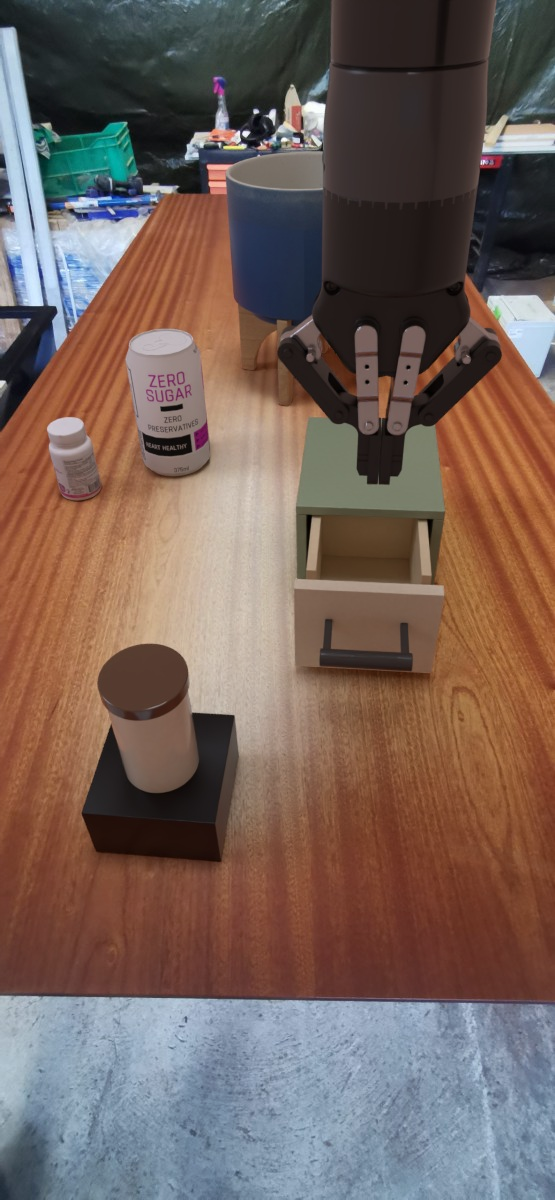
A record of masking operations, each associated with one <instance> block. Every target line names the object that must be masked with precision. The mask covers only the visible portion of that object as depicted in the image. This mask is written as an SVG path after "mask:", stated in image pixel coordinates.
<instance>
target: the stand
mask: <svg viewBox="0 0 555 1200" xmlns="http://www.w3.org/2000/svg"><path fill="white" fill-rule="evenodd" d="M192 716H193V722H194V728H195V734H196V740H197V746H198V752H199V763H198V767H197V769H196V771H195V773H194V775H193V776H192V777H191V778H190V780H189V781H187V782H186V783H185V784H184V785H182V786H181V787H179V788H177V789H175V790H172V791H169V792H164V793H150V792H146V791H143V790H140V789H139V788H137V787H135V786H134V785H133V784H132V783H131V782H130V781H129V779H128V778H127V775H126V773H125V769H124V766H123V762H122V759H121V755H120V752H119V748H118V745H117V741H116V738H115V734H114V731H113V727H112V724H111V723H110V726H109V729H108V732H107V734H106V738H105V741H104V744H103V747H102V749H101V752H100V755H99V759H98V761H97V765H96V767H95V771H94V774H93V776H92V780H91V783H90V785H89V789H88V791H87V795H86V798H85V801H84V803H83V807H82V809H81V813H80V814H81V816H82V820H83V822H84V824H85V827H86V831H87V832H88V836H89V837H90V840H91V843H92V846H93V848H94V851H95V852H98V853H108V854H123V855H133V856H134V855H135V856H147V857H160V858H172V859H182V860H183V859H185V860H197V861H209V862H222V859H223V852H224V847H225V840H226V836H227V835H226V834H227V828H228V824H229V823H228V822H229V817H230V811H231V805H232V799H233V792H234V786H235V781H236V780H235V779H236V774H237V768H238V764H239V763H238V762H239V756H240V755H239V744H238V734H237V725H236V716H235V714H227V713H212V712H211V713H209V712H193V711H192Z"/></svg>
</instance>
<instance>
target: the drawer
mask: <svg viewBox="0 0 555 1200" xmlns="http://www.w3.org/2000/svg"><path fill="white" fill-rule="evenodd" d="M431 577H432V572H431V561H430V549H429V537H428V525H427V519H419V518H392V517H364V516H337V515H312V522H311V532H310V541H309V550H308V559H307V568H306V579H297V578H294V583H293V626H294V627H293V629H294V631H293V633H294V635H293V637H294V666H295V667H310V668H329V669H330V668H332V669H347V670H348V669H349V670H365V671H367V670H368V671H381V672H383V671H384V672H385V671H386V672H403V673H417V674H419V673H421V674H432V671H433V666H434V660H435V654H436V648H437V644H438V637H439V631H440V626H441V621H442V620H441V619H442V613H443V607H444V601H445V587H444V585H443V584H442V585H440V584H434V585H430V584H431Z"/></svg>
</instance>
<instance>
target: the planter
mask: <svg viewBox="0 0 555 1200" xmlns="http://www.w3.org/2000/svg"><path fill="white" fill-rule="evenodd" d="M322 154H323V151H319V150H317V151H313V150H312V151H289V152H278V153H271V154H270V153H269V154H263V155H259V156H254V157H250V158H246V159H243V160H240V161H238V162H236V163H233V164H232V165H230V166H228V167H227V168H226V171H225V188H226V200H227V201H226V203H227V219H228V235H229V248H230V264H231V278H232V291H233V292H232V295H233V298H234V300H235V303H237V311H238V312H237V313H238V327H239V328H238V329H239V342H240V360H241V369H242V370H249V371H254V370H256V368H257V367H258V357H259V352H260V349H261V347H262V345H263V342H265V340H266V338H268V337H269V336H270V335H271V334H273V333H274V332H276V342H277V343H276V344H277V347H276V348H278V347H279V342H280V338H281V334H282V331H283V329H284V328H286V327H287V326H295V327H297V326H298V325H299V324H300V323H302V322H303V321H304V320H306V319H307V318H308V317H309V316H311V315H312V311H313V305H314V300H315V298H316V296H317V294H318V292H319V291H320V288H321V285H322V225H323V162H322ZM319 338H320V340H321V342H322V354H326V353H327V352H328V350H329V348H330V345H329V344H328V343H327V341H326V340H325V339H324V337H323V336H322V334H320V336H319ZM277 375H278V377H277V380H278V405H280V406H285V407H289V406H290V404H291V403H292V401H293V399H294V398H293V397H294V394H293V393H294V380H295V377H294V376H293V375H292V374H291V372H290V371H289V370H288V369H287V368H286V366H285V365H284V364H283V363H282V362H281V360H280V359H279V358H278V357H277ZM355 384H356V385H357V380H356V379H355Z"/></svg>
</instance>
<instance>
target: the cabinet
mask: <svg viewBox="0 0 555 1200" xmlns="http://www.w3.org/2000/svg"><path fill="white" fill-rule="evenodd" d="M381 427H382V418H381ZM303 445H304V446H303V453H302V459H301V460H302V461H301V468H300V474H299V480H298V481H299V483H298V488H297V496H296V502H295V503H296V504H295V532H296V534H295V537H296V538H295V539H296V541H295V543H296V545H295V546H296V548H295V549H296V579H306V568H307V559H308V550H309V541H310V532H311V522H312V515H337V516H364V517H392V518H419V519H427V525H428V537H429V549H430V561H431V572H432V577H431V584H430V585H435V581H436V575H437V568H438V562H439V557H440V556H439V555H440V549H441V542H442V536H443V530H444V524H445V516H446V506H445V504H446V503H445V497H444V488H443V479H442V472H441V470H442V469H441V462H440V453H439V446H438V435H437V428H436V424H435V425H433V426H429V427H426V426H423V425H422V424H420V425H416V426H413V427H411V428H410V429H409V430H408V431H407V432H406V435H405V442H404V452H403V463H402V470H401V472H400V474H399V476H398V477H393V476H390V485H379V474H378V485H374V484H367V476H359V474H358V471H357V469H356V468H357V445H358V432H357V430H356V429H355V428H354V427H353V426H352V425H349V424H347V423H343V424H335V423H333V422H331V421H330V419H329V418H328V417H323V416H321V417H318V416H316V417H315V416H308V417H307V424H306V432H305V440H304V444H303Z"/></svg>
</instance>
